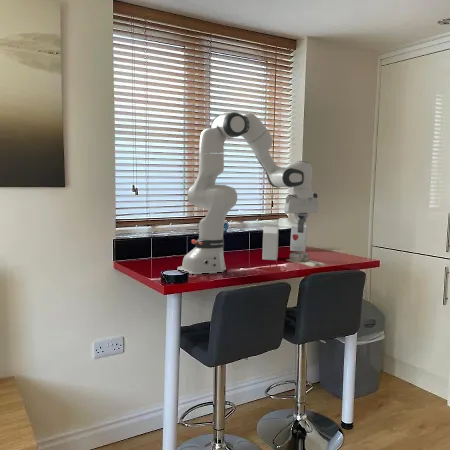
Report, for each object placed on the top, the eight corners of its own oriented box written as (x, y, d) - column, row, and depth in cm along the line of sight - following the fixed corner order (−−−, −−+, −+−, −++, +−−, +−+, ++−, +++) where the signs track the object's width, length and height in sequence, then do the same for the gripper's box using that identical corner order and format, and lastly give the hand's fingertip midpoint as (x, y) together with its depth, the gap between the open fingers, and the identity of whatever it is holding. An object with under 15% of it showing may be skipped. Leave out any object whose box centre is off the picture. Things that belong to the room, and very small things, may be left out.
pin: (300, 233, 221) (301, 214, 220) (292, 232, 226) (293, 213, 225) (308, 232, 224) (309, 213, 223) (300, 231, 229) (301, 212, 228)
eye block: (311, 269, 212) (312, 259, 211) (285, 262, 228) (285, 252, 227) (328, 267, 218) (328, 257, 218) (301, 260, 234) (301, 251, 233)
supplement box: (289, 251, 263) (291, 225, 262) (290, 248, 272) (291, 224, 270) (305, 252, 262) (306, 226, 260) (305, 249, 270) (307, 224, 269)
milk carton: (276, 263, 226) (277, 225, 224) (262, 262, 228) (263, 224, 226) (277, 260, 233) (278, 224, 231) (263, 259, 235) (264, 223, 233)
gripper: (290, 194, 215) (289, 223, 216) (321, 194, 226) (319, 222, 228) (281, 194, 220) (280, 222, 222) (312, 194, 231) (311, 220, 233)
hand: (300, 222), depth 225 cm, fingers closed on pin, 3 cm apart
